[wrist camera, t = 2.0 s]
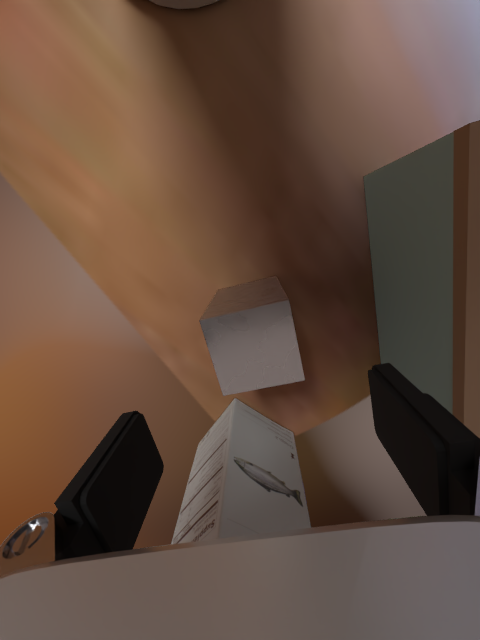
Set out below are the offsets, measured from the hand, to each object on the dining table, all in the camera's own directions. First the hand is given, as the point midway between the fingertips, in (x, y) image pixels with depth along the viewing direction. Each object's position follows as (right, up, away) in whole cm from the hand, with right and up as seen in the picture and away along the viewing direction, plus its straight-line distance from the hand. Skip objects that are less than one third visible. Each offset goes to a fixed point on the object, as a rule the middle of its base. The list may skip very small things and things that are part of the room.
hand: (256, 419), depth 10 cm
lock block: (+1, +5, +12) cm, 13 cm away
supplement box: (0, -8, +16) cm, 18 cm away
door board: (+12, +5, +11) cm, 17 cm away
